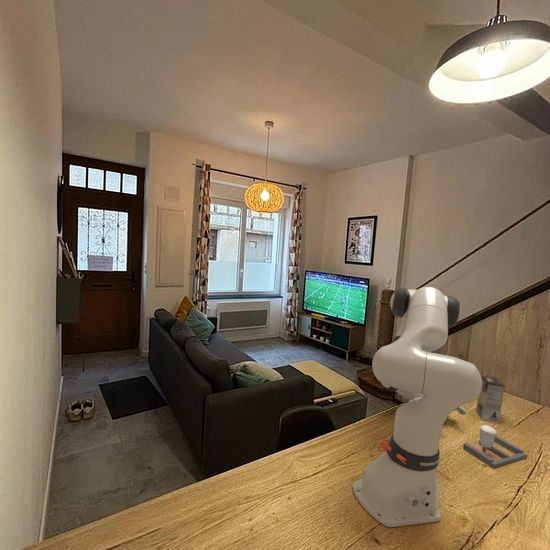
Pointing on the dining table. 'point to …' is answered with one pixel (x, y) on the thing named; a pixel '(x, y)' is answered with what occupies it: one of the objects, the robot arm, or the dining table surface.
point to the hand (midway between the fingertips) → (455, 414)
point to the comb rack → (497, 453)
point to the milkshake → (487, 439)
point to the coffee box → (490, 399)
